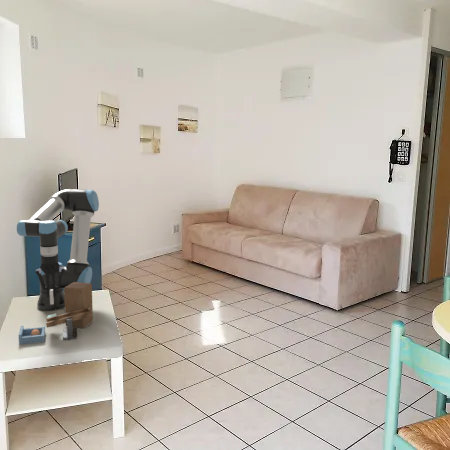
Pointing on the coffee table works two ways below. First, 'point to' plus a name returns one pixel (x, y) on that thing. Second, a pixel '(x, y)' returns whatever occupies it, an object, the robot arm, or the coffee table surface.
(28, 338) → the blue square tray
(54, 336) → the coffee table surface
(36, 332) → the ball
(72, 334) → the fulcrum
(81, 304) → the wooden block
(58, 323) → the lever
